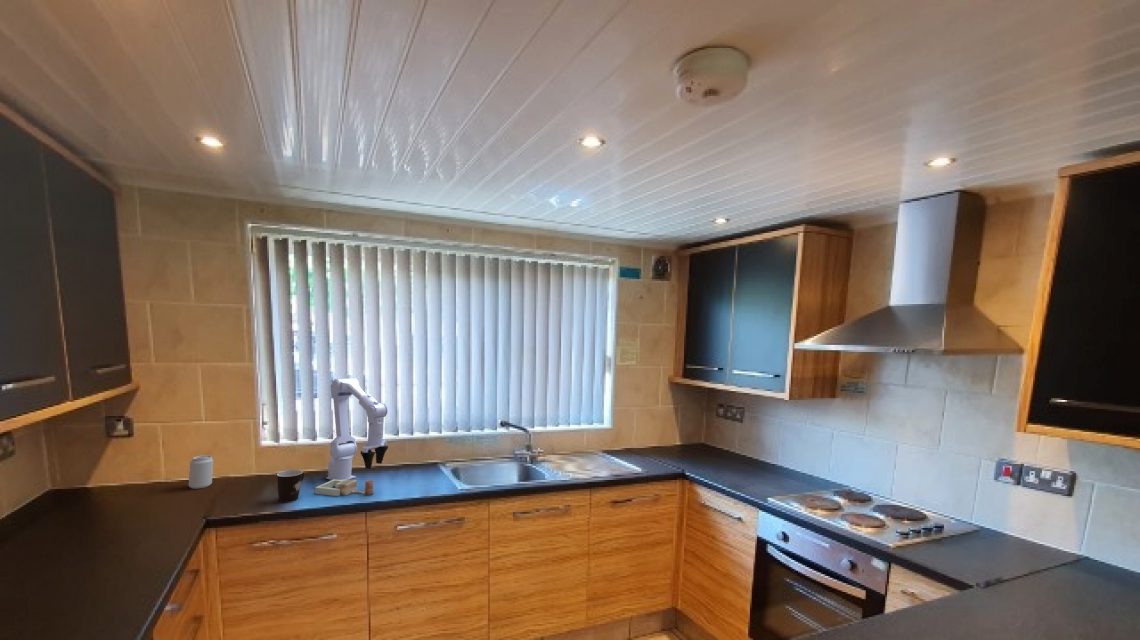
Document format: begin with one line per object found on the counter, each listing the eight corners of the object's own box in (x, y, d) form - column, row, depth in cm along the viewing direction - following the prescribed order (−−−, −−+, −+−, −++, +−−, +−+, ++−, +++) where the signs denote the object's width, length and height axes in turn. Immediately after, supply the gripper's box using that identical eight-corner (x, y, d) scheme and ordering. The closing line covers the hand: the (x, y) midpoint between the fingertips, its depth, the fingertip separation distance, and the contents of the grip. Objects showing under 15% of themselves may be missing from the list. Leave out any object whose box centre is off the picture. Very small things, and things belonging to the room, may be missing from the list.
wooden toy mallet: (335, 494, 186) (335, 481, 186) (345, 488, 192) (345, 476, 193) (367, 497, 184) (368, 484, 184) (376, 491, 190) (377, 479, 191)
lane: (314, 493, 185) (315, 487, 186) (333, 485, 196) (333, 479, 196) (337, 496, 184) (338, 489, 184) (355, 487, 194) (355, 481, 195)
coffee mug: (282, 505, 172) (284, 478, 173) (270, 500, 177) (272, 473, 177) (313, 496, 182) (315, 471, 183) (301, 492, 187) (303, 467, 187)
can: (184, 487, 187) (186, 457, 187) (204, 482, 194) (206, 453, 194) (195, 490, 184) (197, 460, 184) (216, 485, 191) (218, 455, 191)
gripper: (374, 437, 187) (372, 471, 186) (393, 430, 201) (392, 462, 201) (358, 436, 188) (356, 469, 188) (379, 429, 202) (377, 460, 202)
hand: (373, 465), depth 194 cm, fingers open, 7 cm apart
